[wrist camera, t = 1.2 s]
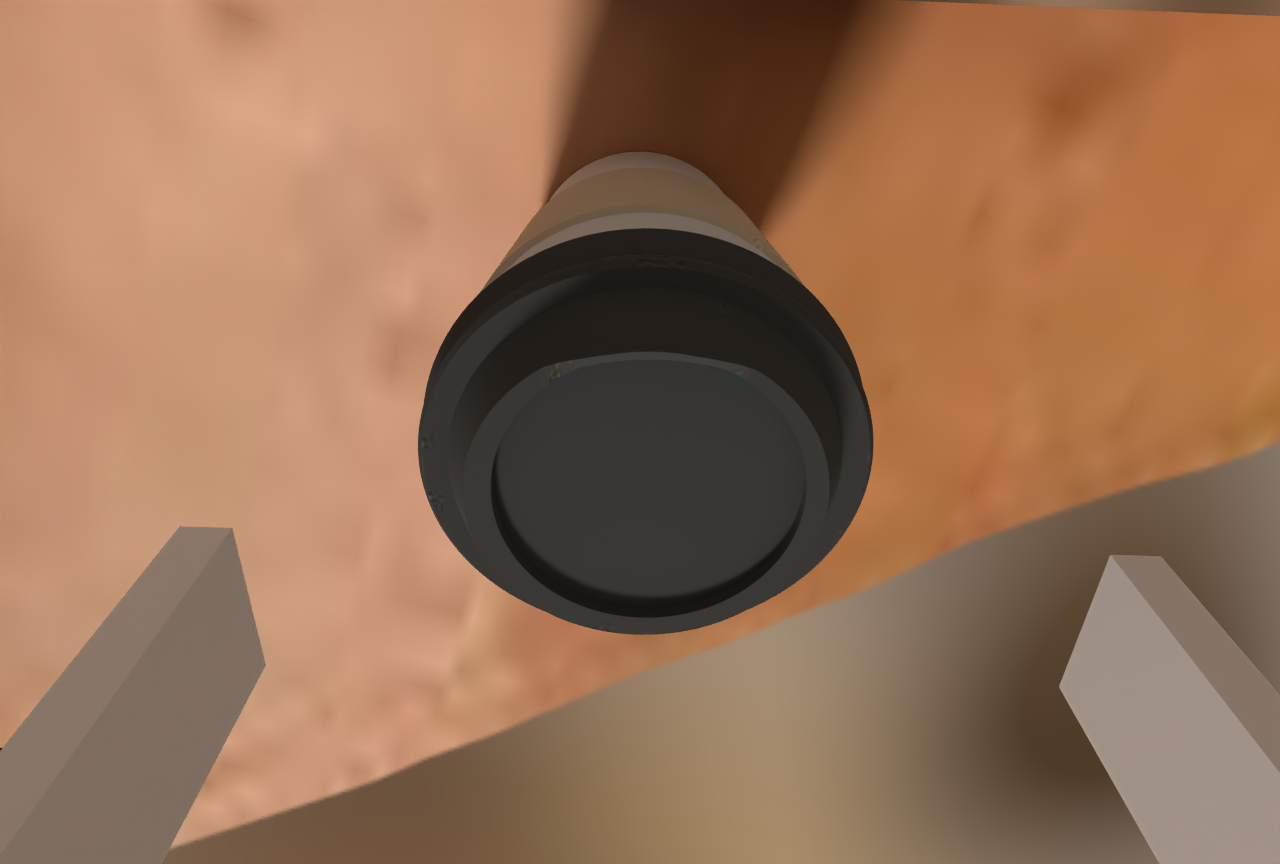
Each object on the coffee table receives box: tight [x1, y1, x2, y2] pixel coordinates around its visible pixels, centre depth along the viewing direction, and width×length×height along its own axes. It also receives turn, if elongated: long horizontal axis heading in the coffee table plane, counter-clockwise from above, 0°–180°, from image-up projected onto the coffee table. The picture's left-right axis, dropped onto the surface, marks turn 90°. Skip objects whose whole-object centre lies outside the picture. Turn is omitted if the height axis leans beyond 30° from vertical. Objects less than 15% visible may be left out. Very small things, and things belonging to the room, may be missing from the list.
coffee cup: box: [418, 152, 873, 635], centre depth 22 cm, size 9×9×15 cm
